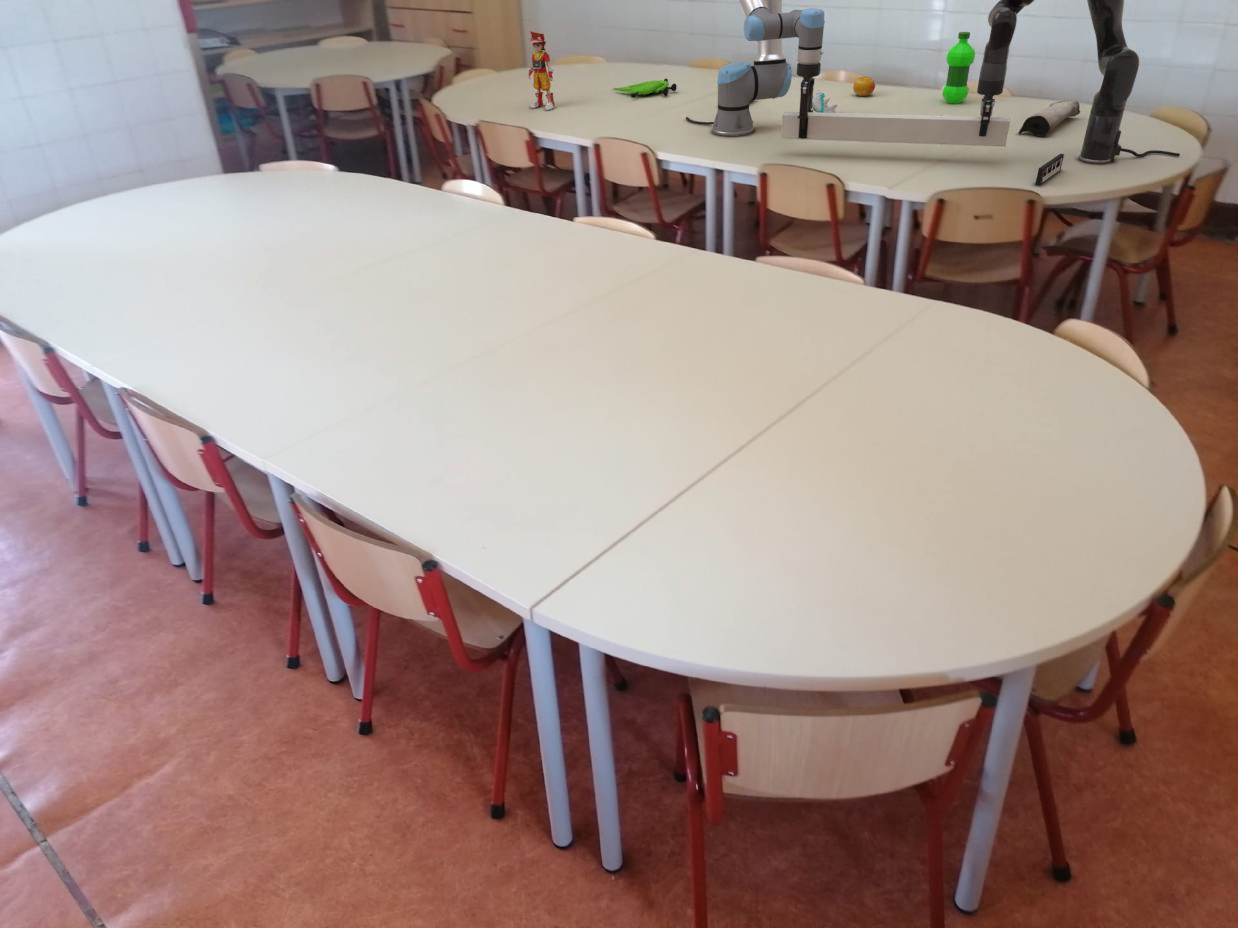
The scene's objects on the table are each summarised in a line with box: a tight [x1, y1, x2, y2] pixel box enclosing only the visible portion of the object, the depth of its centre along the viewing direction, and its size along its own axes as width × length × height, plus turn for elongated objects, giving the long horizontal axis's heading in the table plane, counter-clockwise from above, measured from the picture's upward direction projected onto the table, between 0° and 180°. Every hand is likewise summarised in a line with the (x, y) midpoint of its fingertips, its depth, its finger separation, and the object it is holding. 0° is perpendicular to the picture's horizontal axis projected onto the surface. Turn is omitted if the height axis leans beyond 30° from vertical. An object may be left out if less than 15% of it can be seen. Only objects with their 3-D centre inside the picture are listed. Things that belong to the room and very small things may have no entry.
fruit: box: [852, 76, 876, 97], centre depth 369 cm, size 8×8×8 cm
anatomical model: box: [812, 89, 839, 113], centre depth 345 cm, size 15×10×10 cm
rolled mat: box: [1018, 99, 1081, 137], centre depth 319 cm, size 30×9×10 cm
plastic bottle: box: [942, 31, 976, 104], centre depth 348 cm, size 10×10×25 cm
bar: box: [780, 111, 1011, 148], centre depth 294 cm, size 71×5×8 cm, turn 71°
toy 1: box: [527, 31, 556, 111], centre depth 374 cm, size 12×9×30 cm
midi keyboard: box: [1035, 153, 1065, 186], centre depth 273 cm, size 18×1×5 cm, turn 138°
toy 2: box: [612, 78, 677, 99], centre depth 396 cm, size 28×5×30 cm
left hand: (803, 135), depth 304 cm, fingers closed on bar, 5 cm apart
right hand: (982, 133), depth 286 cm, fingers closed on bar, 4 cm apart
